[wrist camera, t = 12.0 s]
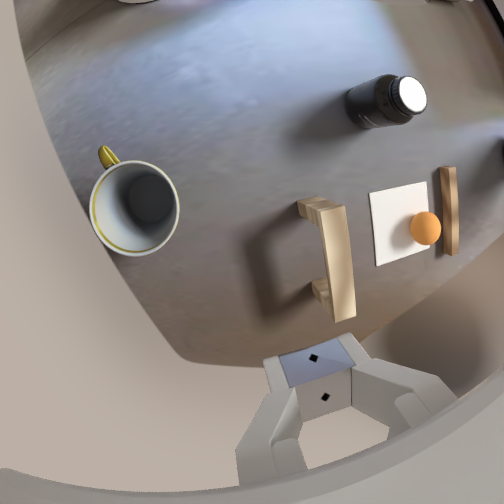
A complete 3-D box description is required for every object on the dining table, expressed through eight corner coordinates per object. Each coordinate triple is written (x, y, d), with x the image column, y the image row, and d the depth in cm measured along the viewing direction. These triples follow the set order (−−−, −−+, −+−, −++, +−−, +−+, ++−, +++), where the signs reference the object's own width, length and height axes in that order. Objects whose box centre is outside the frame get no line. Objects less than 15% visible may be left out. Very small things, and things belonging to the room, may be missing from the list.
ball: (402, 214, 41) (427, 221, 36) (421, 205, 42) (446, 210, 37) (404, 245, 43) (428, 254, 38) (424, 234, 44) (447, 242, 39)
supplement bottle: (350, 132, 37) (397, 124, 26) (338, 88, 35) (381, 66, 23) (387, 126, 37) (438, 120, 26) (376, 85, 35) (424, 68, 24)
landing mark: (368, 193, 40) (369, 193, 40) (425, 181, 41) (426, 181, 40) (376, 265, 44) (376, 266, 44) (428, 247, 44) (429, 247, 44)
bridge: (313, 292, 44) (335, 322, 35) (296, 200, 39) (320, 211, 30) (330, 287, 44) (356, 315, 35) (316, 196, 39) (344, 205, 30)
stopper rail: (439, 167, 40) (448, 168, 38) (446, 166, 40) (455, 167, 38) (443, 252, 45) (451, 256, 43) (449, 249, 45) (458, 253, 43)
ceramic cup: (201, 210, 38) (197, 225, 28) (141, 247, 38) (121, 273, 29) (154, 128, 34) (134, 117, 24) (95, 169, 34) (60, 173, 24)
